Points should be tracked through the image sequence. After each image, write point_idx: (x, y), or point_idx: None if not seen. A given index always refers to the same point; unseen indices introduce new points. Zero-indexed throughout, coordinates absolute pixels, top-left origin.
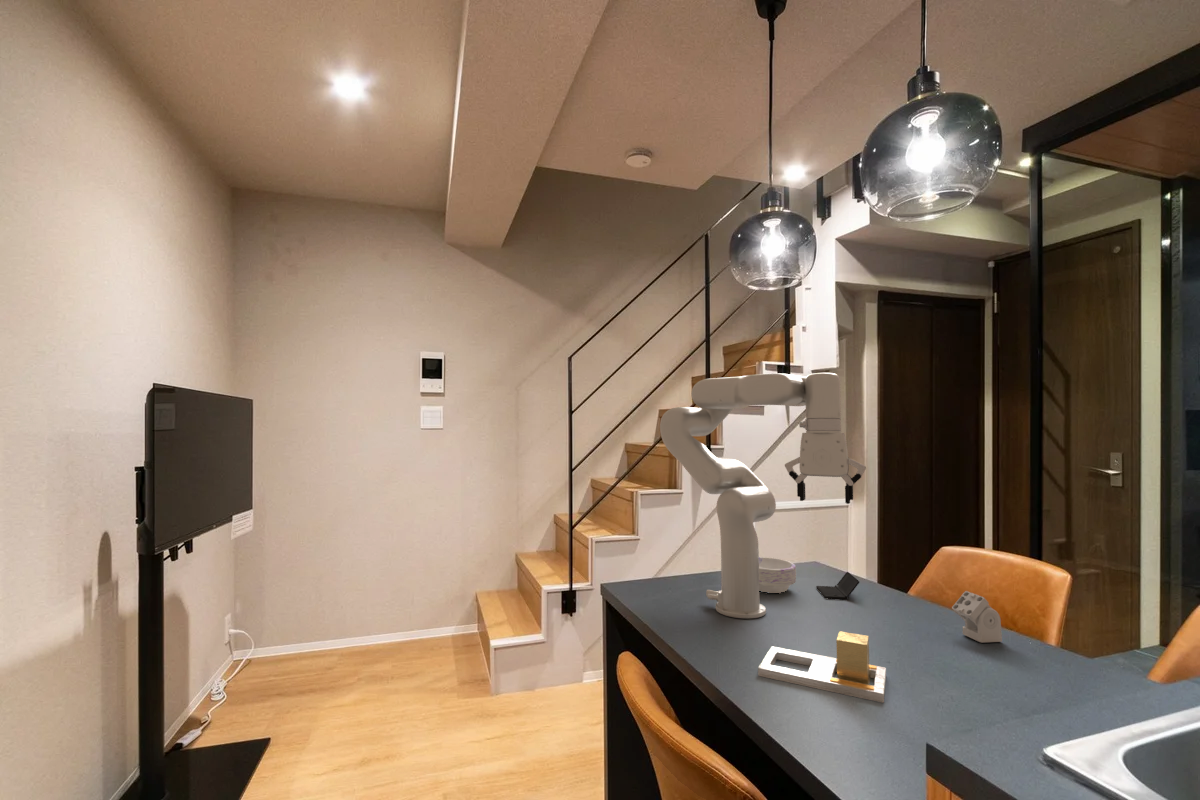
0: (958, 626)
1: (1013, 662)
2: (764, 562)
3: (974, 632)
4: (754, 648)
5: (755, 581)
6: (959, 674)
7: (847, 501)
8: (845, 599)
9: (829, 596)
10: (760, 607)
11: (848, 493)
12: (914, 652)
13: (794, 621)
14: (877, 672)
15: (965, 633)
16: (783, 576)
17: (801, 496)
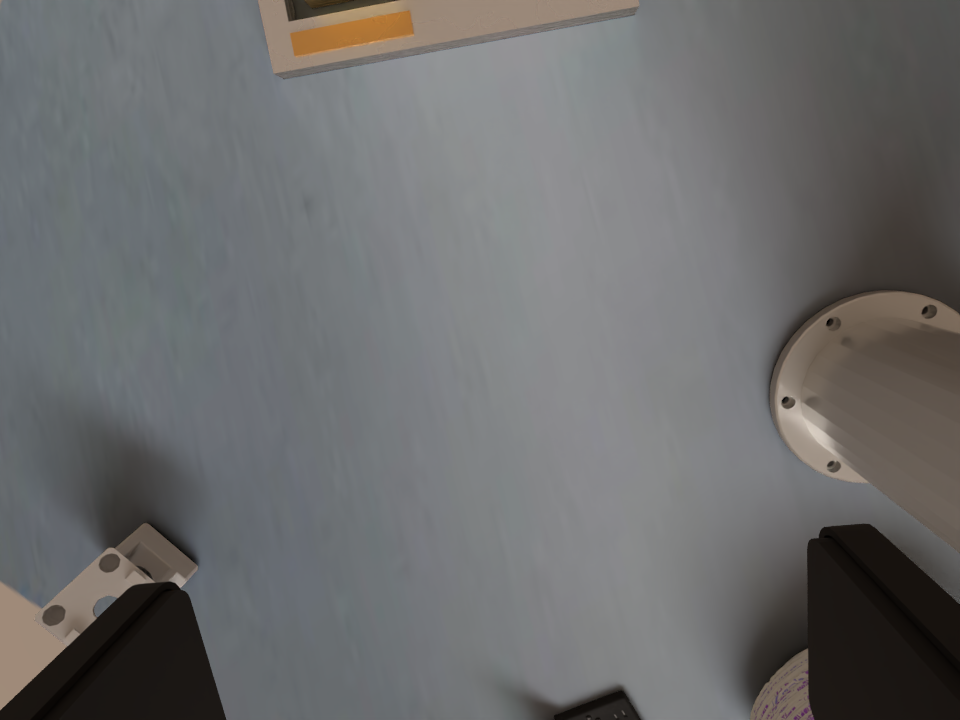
0: (226, 636)
1: (57, 422)
2: None
3: (149, 547)
4: (704, 23)
5: (875, 413)
6: (136, 236)
7: (136, 593)
8: (561, 714)
9: (611, 702)
10: (802, 426)
11: (17, 695)
12: (269, 337)
13: (655, 395)
14: (281, 8)
15: (186, 562)
16: (796, 699)
17: (876, 561)
